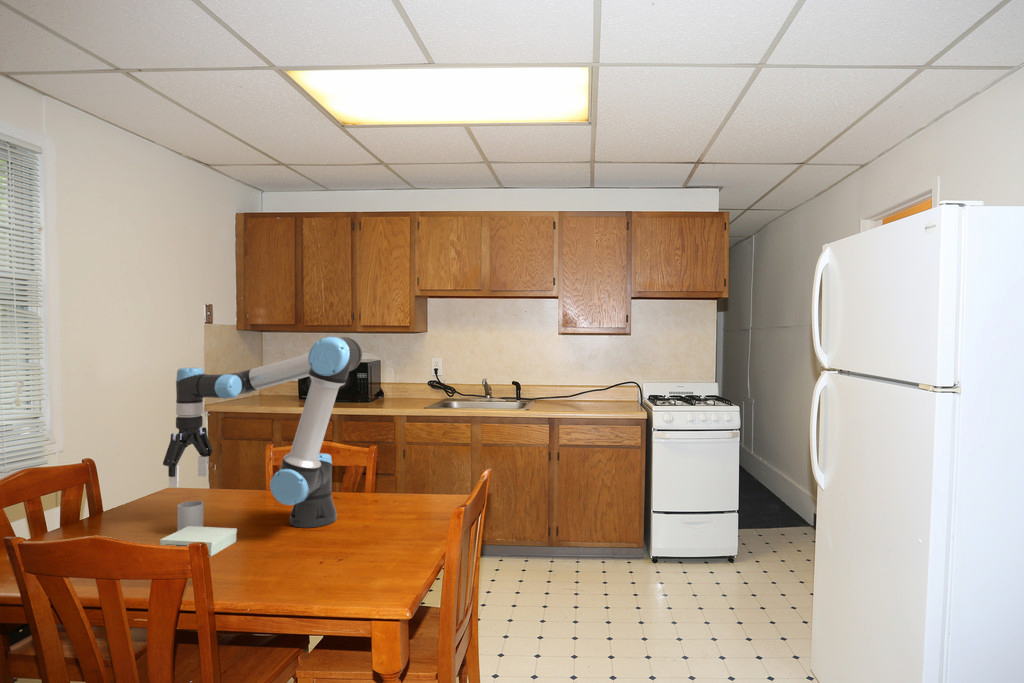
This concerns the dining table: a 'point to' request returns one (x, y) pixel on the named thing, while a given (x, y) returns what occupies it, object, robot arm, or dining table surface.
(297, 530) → the dining table surface
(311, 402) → the robot arm
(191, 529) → the pale green flat block
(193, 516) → the cup
